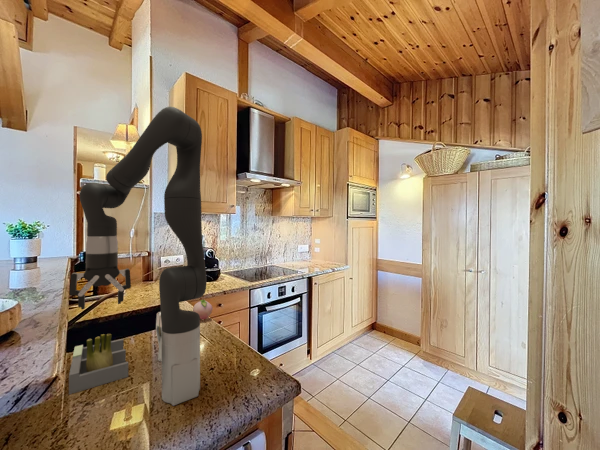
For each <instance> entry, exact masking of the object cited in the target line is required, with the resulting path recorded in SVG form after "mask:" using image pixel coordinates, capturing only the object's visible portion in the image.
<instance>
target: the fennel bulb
mask: <svg viewBox="0 0 600 450" xmlns="http://www.w3.org/2000/svg"><path fill="white" fill-rule="evenodd" d="M112 335H113V334H111V333H107V334H104V333H103V334H100V336H96V337H95V338H94V343H93V338H88V339H86V347H87V362H86V370H87V372H90V371H94V370H98V369H102V368H105V367H109V366H113V356H112V351H111V341H112ZM93 345H94V351H93Z"/></svg>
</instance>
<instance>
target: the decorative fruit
mask: <svg viewBox="0 0 600 450" xmlns="http://www.w3.org/2000/svg"><path fill="white" fill-rule="evenodd" d="M192 311H194V312H196V313H198V314H199V316H200V320H202V321H204V319H205V320H207V319H208V318H209V317H210V315H211V314H212V312H213V305H212V304H211V303H210V302H208V301H207V300H206V299H204V298H202V299H200V300H199V301H198V302H196V303H195V304H194V306H193V307H192Z"/></svg>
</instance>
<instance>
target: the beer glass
mask: <svg viewBox="0 0 600 450" xmlns="http://www.w3.org/2000/svg"><path fill="white" fill-rule="evenodd" d="M155 332H156V333H155V334H156V338H157V343H158V344H157V345H158V353H157V359H156V360H157V361H159V362H162V322H161V311H158V312H157V313H156V318H155Z"/></svg>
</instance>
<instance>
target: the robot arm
mask: <svg viewBox="0 0 600 450" xmlns="http://www.w3.org/2000/svg"><path fill="white" fill-rule="evenodd" d="M167 143H168V144H169V145H172V146H174V147H175V149H176V150H175V151H176V159H177V160H176V168H175V171H174V173H173V174H172V176H171V178H170V179H169V181H168V183H167V186H166V187H165V190H164V194H163V199H164V201H163V202H164V203H163V204H164V205H163V207H164V219H165V221H166V222H167V223H166V224H167V225H168V226H169V228H170V230H171V231H172V232H173V233H174V234H175V237H176V238H178V239H177V240H179V242H180V244H181V245H182V247H183V250H184V252H185V255H186V263H187V265H182V266H181V265H180V266H172V267H167V268H166V267H165V268H164V269H163V270H162V271H161V273H160V276H159V283H158V285H159V289H158V290H159V303H160V305H159V307H160V312H161V322H162V361H161V399H162V401H163V402H164V403H167V404H171V406H177V405H178V404H181V403H184V402H186V401H189V400H191V399H194V398H197V397H199V391H200V390H201V319H200V316H199V314H198V313H196V312H194V311H193V310H186V309H184V310H183V309H181V308H180V303H182V302H183V303H184V302H187V301H192V300H195V299H199V298H202V297H203V296H204V295H205V293H206V289H207V280H208V279H207V269H206V262H205V255H204V247H203V229H202V228H203V227H202V226H203V225H202V214H203V213H202V196H201V195H202V193H201V192H202V191H201V157H202V156H201V155H202V144H203V133H202V128H201V125H200V124H199V122H198V121H197V120H196V119H194V118H193V117H192V116H190V115H188V114H187V113H186V112H184V111H182V110H181V109H179V108H177V107H175V106H167V107H164V108H162V109H161V110H160V111H159V112H157V114H155V116H154V117H153V118H152V120H151V121H150V122H149V123H148V126H146V128H145V130H144V131H143V132H142V134H141V135H140V136H139V138H138V140H137V141H136V142H135V143H134V145H133V147H132V148H131V149H130V150H129V151H128V152H127V154H126V155H125V156H124V157H123V158H122V159H121V160H119V161H118V163H116V164H115V165H114V166H113V167H112V168H111V169H110V170H109V171H108V172H107V173H106V174H105V175H106V177H105V181H106V182H107V183H108V184H103V183H97V182H87V183H85V184H84V185H83V186H82V187H81V188H80V190H79V191H80V192H79V201H80V204H81V208H82V211H83V214H84V216H85V220H86V223H87V224H86V226H87V227H86V235H87V236H86V241H85V271H84V272H81V273H80V272H76V271H75V272H74V271H73V272H72V273H71V275H70V285H69V295H70V296H76V297H77V299H78V300H77V306H78V308H79V309H80V308H81V310H85V308H86V293H87V292H88V291H89V290H90V289H91V287H92V286H93V287H96V288H97V287H101V286H105V287H106V286H109V285H112V286H113V287H115V288H116V289H117V304H118V305H121V304H122V302H124V301H125V300H124V299H125V298H124V295H125V294H124V291H126V290H128V289H131V287H132V283H131V282H132V281H131V270H130V268H128V267H127V268H125V269H119V265H118V263H119V262H118V261H119V259H118V258H119V256H118V253H119V251H118V250H119V243H118V236H117V235H118V223H117V222H118V221H117V219H116V218H115V217H113V216H111V215H107V214H106V212H105V210H104V209H116V208H119V207H120V206H122V205H123V204H124V203H125V202H126V199H127V198H128V196H129V194H130V192H131V190H132V189H133V188H134V187H135V186H136V185H137V184H138V183H140V182H141V181H142V180H143V179H144V178H145V177H146V176H147V174H148V173H149V171H150V168H151V164H152V160H153V157H154V155H155V152H157V150H159V149H160V148H161V147H162V146H164V145H166V144H167ZM120 274H121V275H122V276H123V277H124V278H125V279H124V281H125V284H123V285H122V284H121V283H120V281H118V280H117V277H118V276H119V275H120ZM81 278H84V280H86V281H87V282H86V284H85V285H84V286H83V287H82V288H81V289H77V285H78V284H77V283H78V282H79V281H80V280H81Z"/></svg>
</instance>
